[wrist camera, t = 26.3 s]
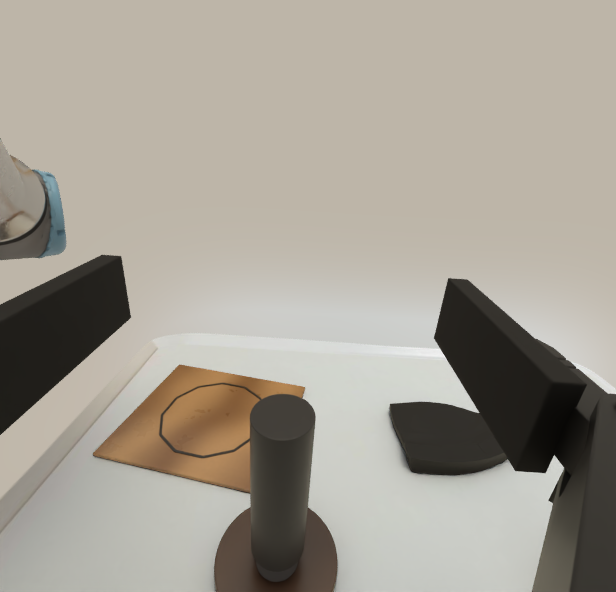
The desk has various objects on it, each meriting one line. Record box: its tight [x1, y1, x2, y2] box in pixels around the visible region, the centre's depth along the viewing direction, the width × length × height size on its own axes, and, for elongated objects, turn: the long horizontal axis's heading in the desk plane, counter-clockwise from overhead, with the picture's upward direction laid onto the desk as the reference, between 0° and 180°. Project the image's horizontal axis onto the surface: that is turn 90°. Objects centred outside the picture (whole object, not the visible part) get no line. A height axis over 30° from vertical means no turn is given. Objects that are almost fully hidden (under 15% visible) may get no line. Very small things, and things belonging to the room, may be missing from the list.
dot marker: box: [250, 394, 315, 582], centre depth 20 cm, size 3×3×12 cm
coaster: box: [214, 507, 337, 592], centre depth 23 cm, size 8×8×1 cm
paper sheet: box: [93, 365, 305, 493], centre depth 35 cm, size 16×14×1 cm
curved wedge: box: [390, 402, 508, 475], centre depth 34 cm, size 8×14×2 cm, turn 91°
